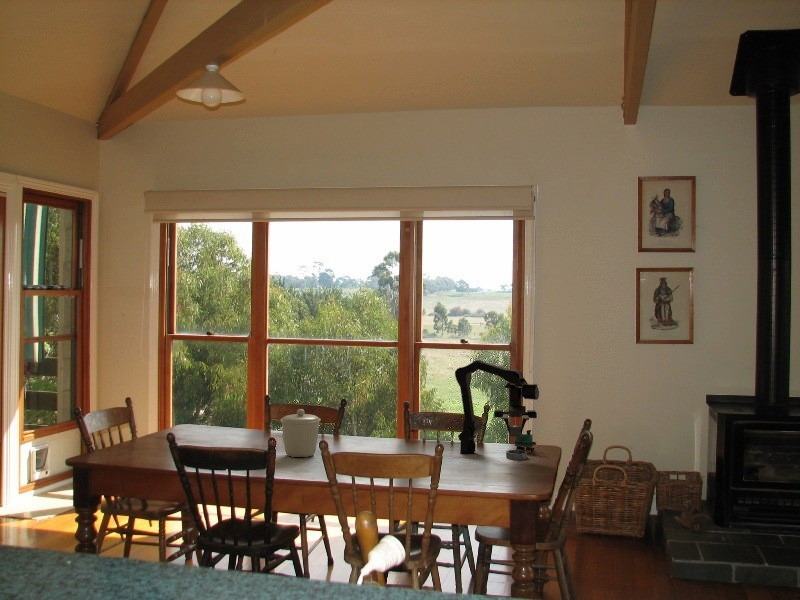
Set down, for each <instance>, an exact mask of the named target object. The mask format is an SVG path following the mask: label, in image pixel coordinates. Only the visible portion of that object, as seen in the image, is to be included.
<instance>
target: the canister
mask: <svg viewBox="0 0 800 600" xmlns="http://www.w3.org/2000/svg"><path fill="white" fill-rule="evenodd" d="M321 420H322V419H321V418H320V417H318V416H317V415H315V414H308V413H305V410H304V408H303V409H302V408H298V409H297V411H296V413H294V414H288V415H285V416H283V417H282V418H280V420H279V421H280V422H281V428H282V437H283V445H284V452H285V454H286V455H287V456H288V457H290V456H291V457H290V458H294V457H305V458H310V457H311V456H314V455H315V454H316V450H317V444H318V434H319V427H320V422H321ZM309 456H310V457H309Z"/></svg>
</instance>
